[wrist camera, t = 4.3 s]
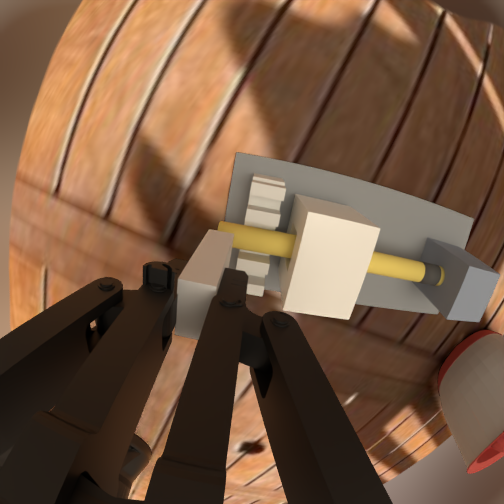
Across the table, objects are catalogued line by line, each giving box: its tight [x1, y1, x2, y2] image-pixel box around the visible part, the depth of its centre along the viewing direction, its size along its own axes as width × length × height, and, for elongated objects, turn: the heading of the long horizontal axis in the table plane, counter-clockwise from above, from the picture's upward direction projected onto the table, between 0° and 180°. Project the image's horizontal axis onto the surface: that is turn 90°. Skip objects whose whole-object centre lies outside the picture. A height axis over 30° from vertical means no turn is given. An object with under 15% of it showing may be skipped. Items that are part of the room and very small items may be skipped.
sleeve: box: [278, 194, 381, 320], centre depth 22 cm, size 5×7×7 cm
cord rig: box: [217, 152, 500, 322], centre depth 22 cm, size 26×12×8 cm, turn 80°
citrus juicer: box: [438, 330, 504, 474], centre depth 22 cm, size 16×17×20 cm
